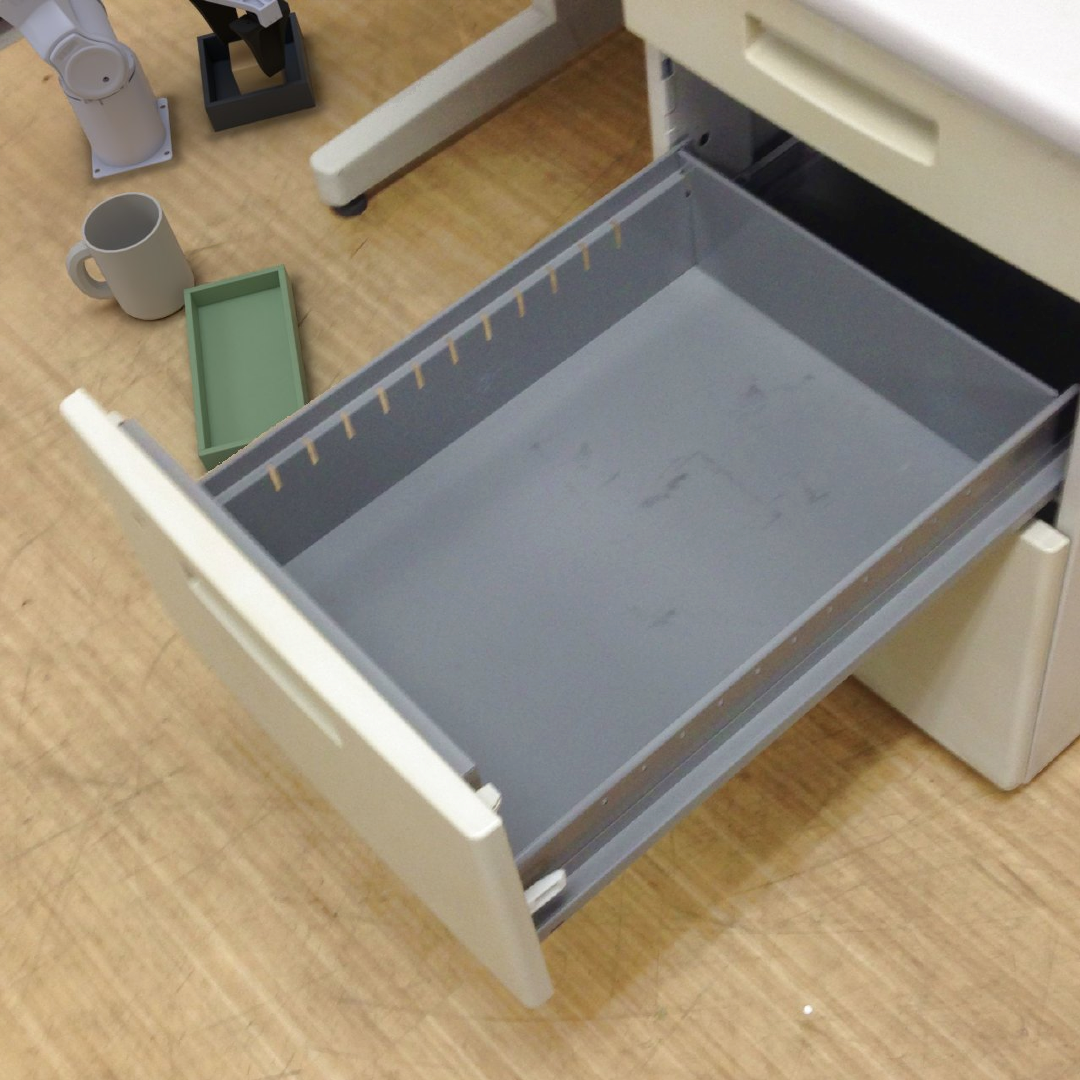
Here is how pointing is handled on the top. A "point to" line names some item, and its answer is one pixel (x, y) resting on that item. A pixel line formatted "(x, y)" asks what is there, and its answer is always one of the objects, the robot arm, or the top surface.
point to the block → (251, 70)
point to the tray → (243, 359)
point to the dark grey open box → (271, 102)
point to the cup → (132, 257)
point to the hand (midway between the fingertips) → (253, 54)
